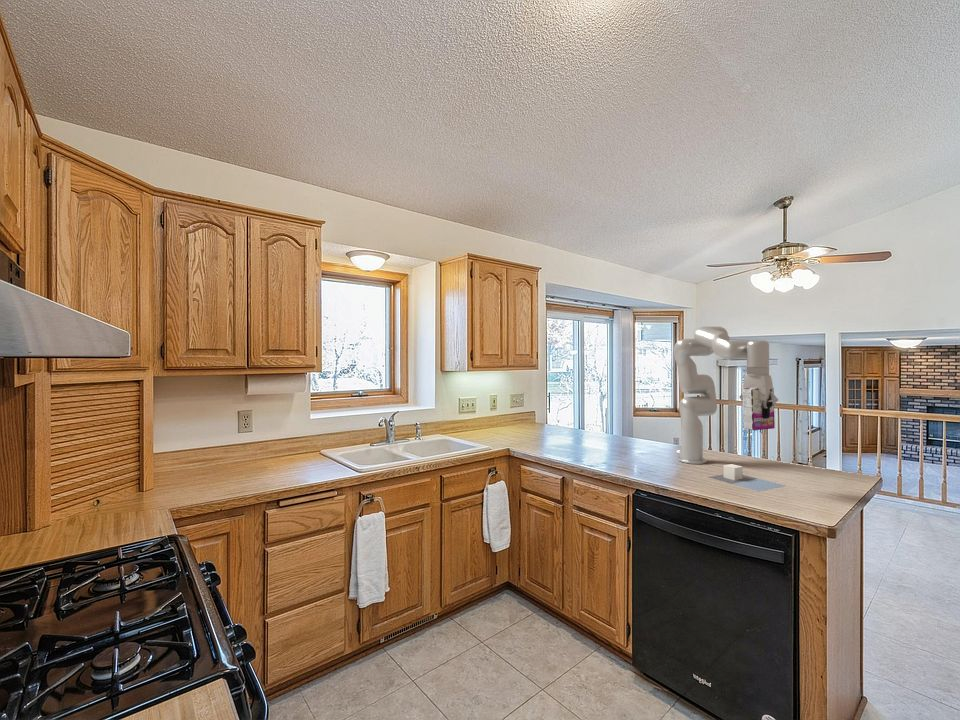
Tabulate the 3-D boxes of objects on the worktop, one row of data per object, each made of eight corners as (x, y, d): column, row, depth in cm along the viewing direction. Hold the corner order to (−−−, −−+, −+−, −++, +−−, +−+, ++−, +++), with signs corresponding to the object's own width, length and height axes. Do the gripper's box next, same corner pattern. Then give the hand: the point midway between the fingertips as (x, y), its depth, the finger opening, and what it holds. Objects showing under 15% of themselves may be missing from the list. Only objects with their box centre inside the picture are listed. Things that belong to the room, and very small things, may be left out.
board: (708, 479, 190) (708, 477, 190) (733, 474, 197) (733, 472, 197) (759, 493, 170) (759, 491, 170) (785, 487, 177) (785, 485, 177)
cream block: (723, 477, 190) (723, 465, 190) (731, 475, 192) (731, 464, 192) (734, 480, 185) (734, 468, 185) (742, 478, 188) (742, 466, 187)
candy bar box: (763, 426, 183) (763, 386, 183) (775, 428, 178) (774, 387, 178) (741, 428, 180) (741, 387, 180) (752, 430, 175) (752, 388, 175)
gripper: (731, 371, 185) (731, 415, 185) (773, 372, 170) (774, 420, 170) (743, 370, 188) (743, 414, 188) (786, 372, 173) (786, 419, 173)
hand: (758, 416), depth 179 cm, fingers closed on candy bar box, 5 cm apart
